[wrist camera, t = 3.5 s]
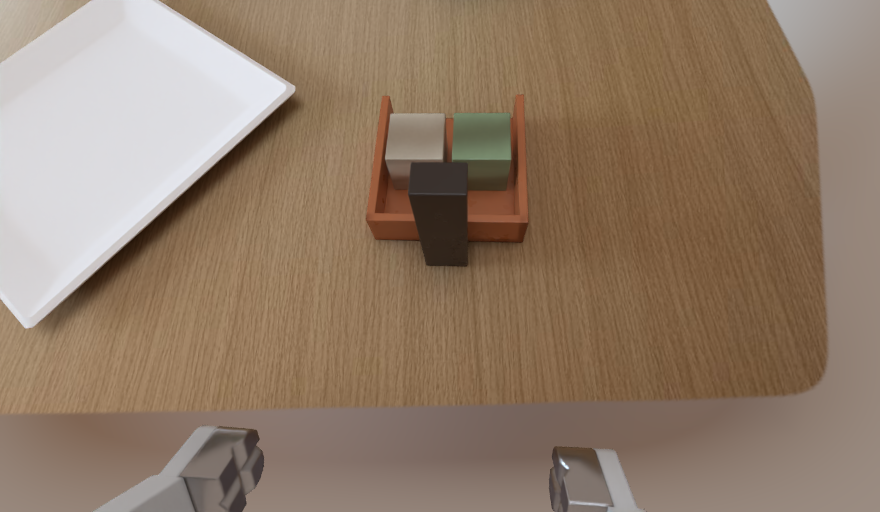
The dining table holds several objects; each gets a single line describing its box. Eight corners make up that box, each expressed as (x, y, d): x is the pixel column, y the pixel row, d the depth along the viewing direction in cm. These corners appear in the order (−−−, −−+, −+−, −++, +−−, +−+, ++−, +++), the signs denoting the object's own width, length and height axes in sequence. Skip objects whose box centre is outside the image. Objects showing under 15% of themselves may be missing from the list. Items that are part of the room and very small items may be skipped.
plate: (306, 103, 36) (297, 86, 34) (53, 336, 29) (24, 330, 27) (137, -5, 44) (121, -24, 42) (-98, 161, 37) (-129, 147, 35)
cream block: (445, 190, 31) (442, 159, 28) (394, 190, 32) (384, 159, 28) (447, 147, 33) (445, 112, 29) (399, 147, 33) (390, 113, 29)
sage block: (506, 191, 31) (511, 159, 27) (453, 190, 31) (451, 159, 28) (505, 147, 32) (510, 112, 29) (455, 147, 33) (453, 112, 29)
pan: (523, 268, 29) (549, 196, 20) (372, 264, 30) (329, 194, 21) (519, 122, 34) (538, 10, 25) (389, 123, 35) (361, 15, 26)
